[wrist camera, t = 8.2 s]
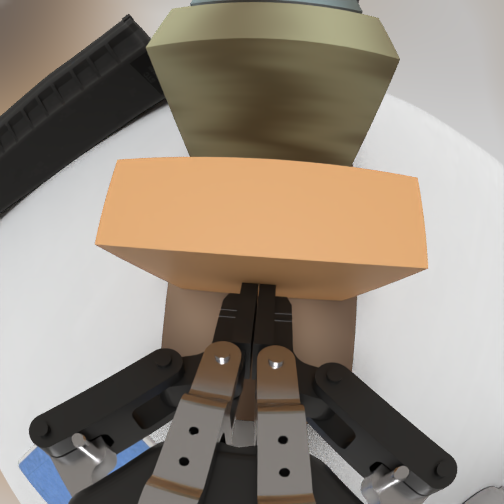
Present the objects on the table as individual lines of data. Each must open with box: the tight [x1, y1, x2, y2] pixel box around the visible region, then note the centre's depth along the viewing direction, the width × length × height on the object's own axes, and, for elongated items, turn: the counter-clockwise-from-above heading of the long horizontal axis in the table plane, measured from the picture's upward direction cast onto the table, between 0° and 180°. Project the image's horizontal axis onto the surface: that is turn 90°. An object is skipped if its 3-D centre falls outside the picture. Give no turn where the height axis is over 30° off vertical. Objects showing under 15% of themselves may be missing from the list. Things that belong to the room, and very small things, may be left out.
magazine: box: [0, 14, 166, 213], centre depth 18 cm, size 17×3×30 cm
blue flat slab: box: [18, 435, 157, 504], centre depth 15 cm, size 19×13×1 cm, turn 134°
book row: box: [146, 0, 400, 424], centre depth 13 cm, size 12×26×14 cm, turn 175°
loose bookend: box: [95, 157, 428, 301], centre depth 13 cm, size 10×3×10 cm, turn 85°
